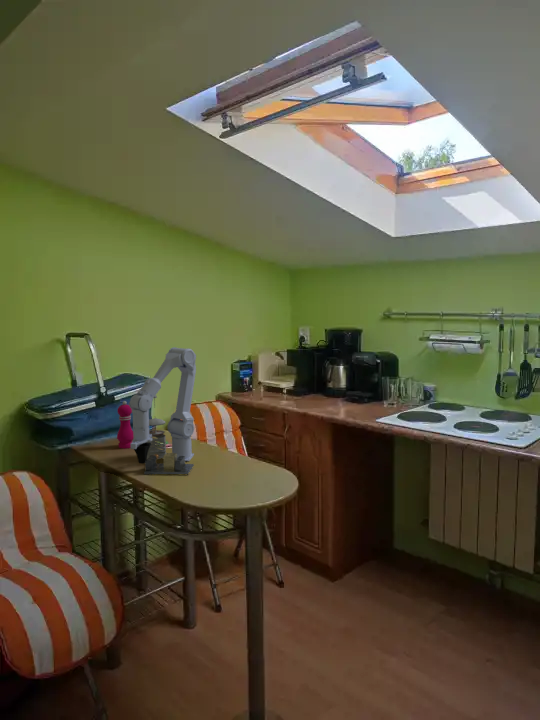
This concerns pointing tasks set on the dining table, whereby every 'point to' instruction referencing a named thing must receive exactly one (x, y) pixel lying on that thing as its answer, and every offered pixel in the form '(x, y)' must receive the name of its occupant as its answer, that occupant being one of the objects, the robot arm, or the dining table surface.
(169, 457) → the brass block
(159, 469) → the vise
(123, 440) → the pepper mill
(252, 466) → the dining table surface
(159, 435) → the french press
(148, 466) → the sliding jaw
